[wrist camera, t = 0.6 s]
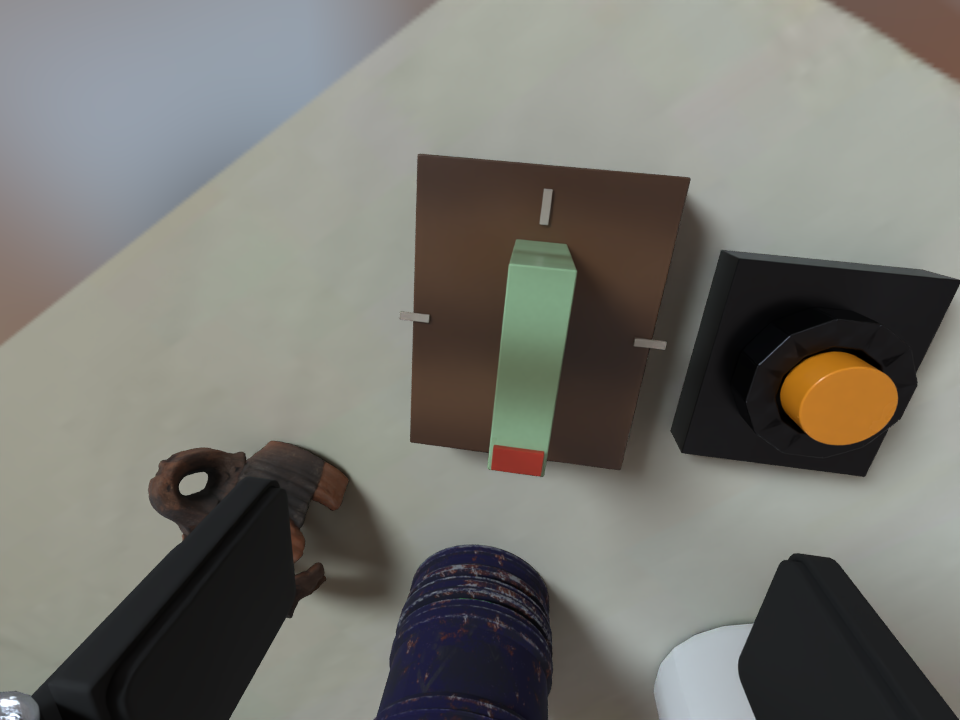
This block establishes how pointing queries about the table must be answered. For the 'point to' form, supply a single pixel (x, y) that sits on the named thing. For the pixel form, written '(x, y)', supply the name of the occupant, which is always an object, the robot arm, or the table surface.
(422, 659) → the storage jar
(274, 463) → the pottery mug
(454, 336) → the base
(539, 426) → the pale green flat block
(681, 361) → the table surface
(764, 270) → the button block
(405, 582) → the table surface
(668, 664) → the can
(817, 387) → the button
